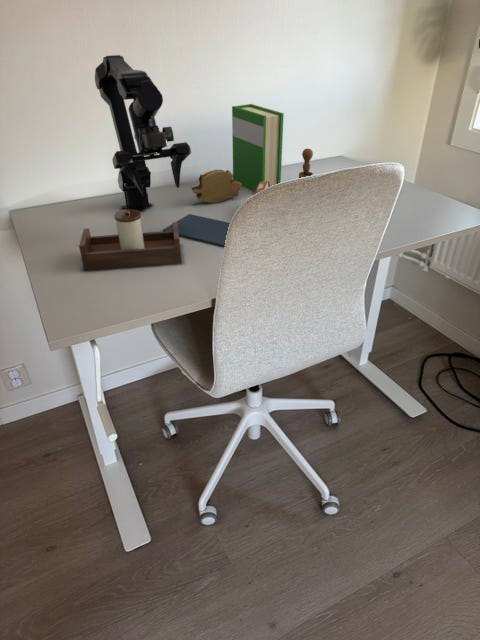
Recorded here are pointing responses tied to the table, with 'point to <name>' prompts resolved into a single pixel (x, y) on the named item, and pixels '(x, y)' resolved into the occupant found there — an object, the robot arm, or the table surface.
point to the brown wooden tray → (130, 251)
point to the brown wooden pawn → (306, 163)
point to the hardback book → (256, 145)
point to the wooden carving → (217, 186)
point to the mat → (202, 229)
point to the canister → (129, 229)
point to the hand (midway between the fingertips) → (160, 190)
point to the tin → (262, 186)
